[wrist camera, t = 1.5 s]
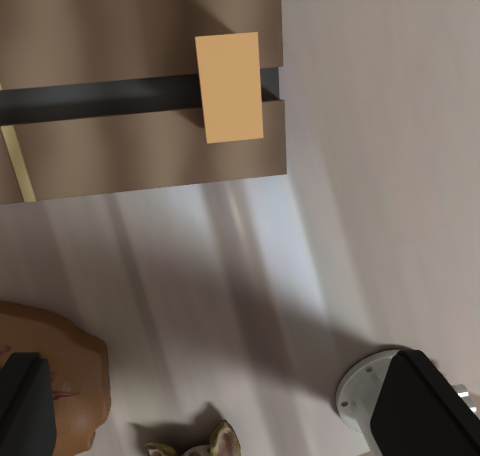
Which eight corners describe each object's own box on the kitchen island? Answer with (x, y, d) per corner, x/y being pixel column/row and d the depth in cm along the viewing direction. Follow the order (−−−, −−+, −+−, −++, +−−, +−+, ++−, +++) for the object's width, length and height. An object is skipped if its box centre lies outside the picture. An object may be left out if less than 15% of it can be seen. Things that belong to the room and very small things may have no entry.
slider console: (271, -16, 28) (280, -28, 25) (279, 166, 33) (287, 174, 30) (-75, 8, 26) (-111, -2, 23) (-9, 196, 31) (-30, 208, 28)
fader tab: (242, 44, 28) (257, 31, 21) (248, 125, 30) (263, 138, 23) (195, 48, 27) (195, 36, 21) (204, 129, 30) (207, 143, 23)
